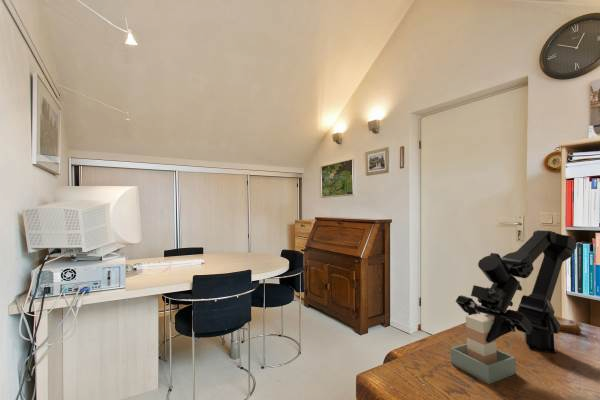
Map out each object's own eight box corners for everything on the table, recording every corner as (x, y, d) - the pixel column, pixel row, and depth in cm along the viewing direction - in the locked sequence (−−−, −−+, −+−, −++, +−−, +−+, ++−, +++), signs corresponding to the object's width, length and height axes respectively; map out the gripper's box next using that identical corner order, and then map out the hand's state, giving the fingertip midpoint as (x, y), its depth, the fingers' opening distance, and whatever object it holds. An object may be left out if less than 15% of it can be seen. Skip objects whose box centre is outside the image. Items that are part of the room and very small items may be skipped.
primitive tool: (512, 325, 109) (512, 316, 109) (511, 320, 114) (511, 312, 114) (582, 337, 98) (581, 327, 98) (578, 331, 103) (577, 321, 103)
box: (476, 354, 87) (476, 340, 87) (515, 373, 77) (515, 357, 77) (450, 363, 83) (450, 348, 83) (488, 383, 73) (488, 366, 73)
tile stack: (479, 355, 83) (477, 313, 84) (497, 363, 79) (495, 319, 79) (467, 358, 81) (465, 316, 82) (484, 367, 77) (482, 322, 77)
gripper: (458, 269, 91) (434, 309, 86) (523, 282, 74) (497, 334, 69) (476, 291, 94) (453, 331, 89) (543, 308, 76) (519, 360, 72)
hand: (477, 337), depth 80 cm, fingers closed on tile stack, 5 cm apart
